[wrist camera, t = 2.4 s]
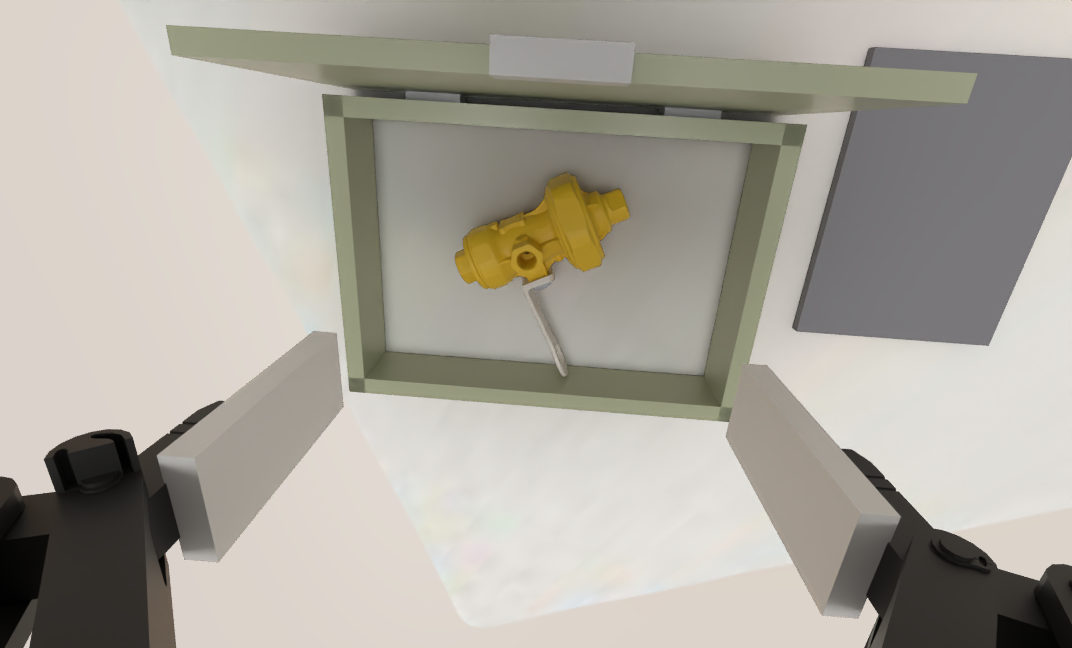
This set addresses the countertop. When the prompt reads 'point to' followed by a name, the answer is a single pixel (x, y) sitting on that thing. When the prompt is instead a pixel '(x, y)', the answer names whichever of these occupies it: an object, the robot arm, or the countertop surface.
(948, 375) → the countertop surface
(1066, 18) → the countertop surface
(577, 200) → the pressure relief valve
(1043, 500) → the countertop surface
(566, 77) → the case
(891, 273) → the pad
